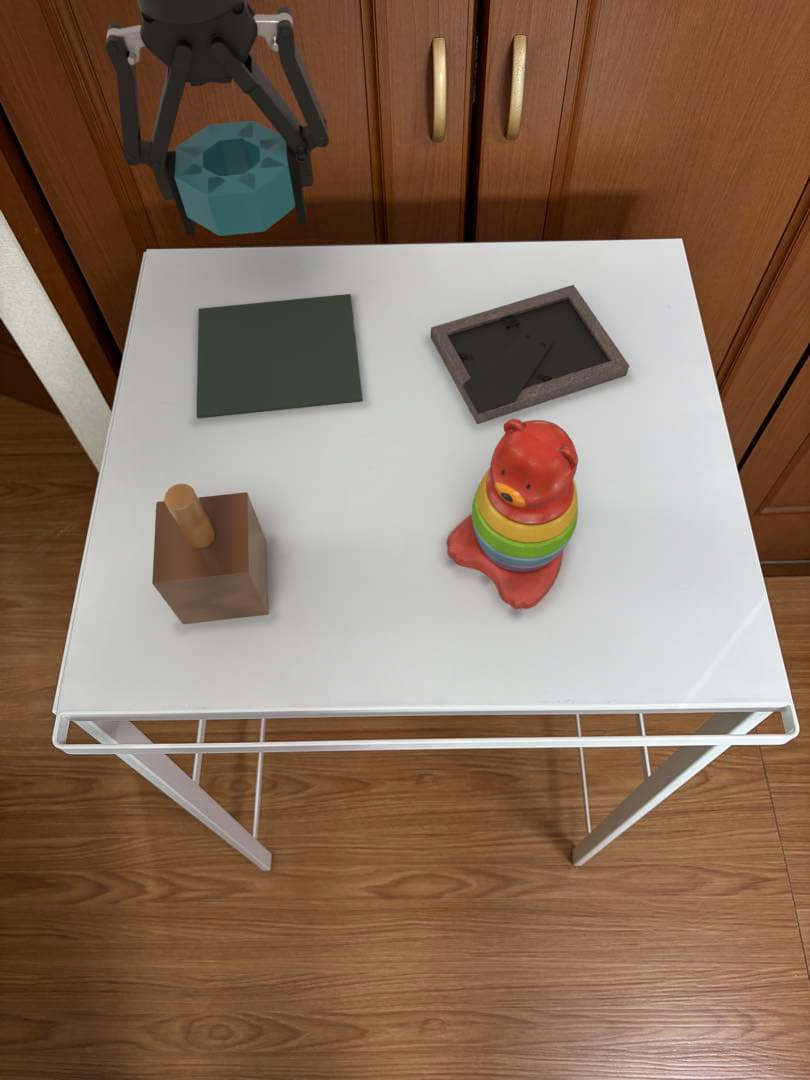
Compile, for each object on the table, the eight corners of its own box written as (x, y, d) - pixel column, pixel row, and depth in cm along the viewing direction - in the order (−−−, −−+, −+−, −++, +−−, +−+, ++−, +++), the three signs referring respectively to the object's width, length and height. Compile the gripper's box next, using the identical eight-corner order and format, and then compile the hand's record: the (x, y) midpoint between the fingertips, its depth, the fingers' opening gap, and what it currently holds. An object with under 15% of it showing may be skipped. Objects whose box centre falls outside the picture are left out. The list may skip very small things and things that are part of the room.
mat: (197, 418, 81) (196, 416, 80) (199, 311, 88) (198, 308, 88) (362, 401, 81) (362, 398, 81) (350, 296, 89) (350, 293, 89)
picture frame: (477, 424, 80) (626, 375, 83) (478, 412, 78) (630, 363, 81) (430, 337, 86) (571, 294, 88) (430, 324, 84) (574, 281, 87)
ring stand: (182, 624, 69) (124, 547, 56) (184, 549, 73) (130, 459, 60) (268, 614, 70) (231, 535, 56) (266, 540, 73) (230, 449, 60)
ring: (186, 239, 65) (173, 199, 61) (189, 168, 69) (176, 127, 66) (296, 228, 65) (289, 188, 61) (292, 158, 70) (285, 117, 66)
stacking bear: (437, 549, 73) (442, 442, 57) (503, 484, 76) (525, 366, 60) (524, 619, 69) (555, 525, 53) (589, 547, 72) (636, 439, 57)
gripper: (338, -106, 52) (362, 182, 71) (14, -79, 51) (129, 205, 71) (347, -52, 48) (369, 236, 68) (-1, -22, 47) (124, 260, 67)
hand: (246, 220), depth 69 cm, fingers closed on ring, 10 cm apart
